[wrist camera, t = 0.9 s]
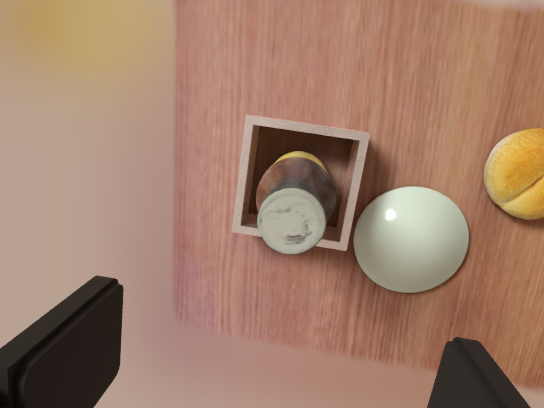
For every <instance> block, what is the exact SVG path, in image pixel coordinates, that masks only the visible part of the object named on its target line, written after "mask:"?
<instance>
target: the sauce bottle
mask: <svg viewBox="0 0 544 408" xmlns="http://www.w3.org/2000/svg"><path fill="white" fill-rule="evenodd" d="M335 203H336V193H335V188H334V185H333V182H332V180H331V178H330V176H329V174H328V172H327V170H326V168H325V167H324V165H323V163H322V162H321V161H320V160H319V159H318V158H317V157H315V156H314V155H312V154H310V153H307V152H303V151H294V152H290V153H287V154H285V155H283V156H282V157H280V158H279V159H278V160H277V161H276V162H275V163H274V164H273V165H272V166H271V167H270V168H269V169H268V170H267V171H266V172H265V174H264V175H263V177H262V179H261V181H260V183H259V185H258V188H257V191H256V206H257V210H258V216H257V226H258V230H259V233H260V235H261V237H262V239H263V240H264V241H265V242H266V244H267V245H268V246H269V247H271V248H272V249H273V250H275V251H278V252H280V253H282V254H289V255H296V254H300V253H304V252H306V251H308V250H310V249H312V248H313V247H315V246H316V245H317V244H318V243H319V241H320V240H321V239H322V237H323V235H324V233H325V230H326V222H327V221H328V220H329V219H330V217H331V215H332V214H333V211H334V208H335Z"/></svg>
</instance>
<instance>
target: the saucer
mask: <svg viewBox="0 0 544 408" xmlns="http://www.w3.org/2000/svg"><path fill="white" fill-rule="evenodd" d="M468 242H469V233H468V227H467V223H466V220H465V218H464V216H463V214H462V212H461V210H460V209H459V208H458V207H457V205H456V204H455V203H454V202H453V201H452V200H450V199H449V198H448V197H446V196H445V195H443V194H441V193H439V192H437V191H435V190H432V189H430V188H426V187H421V186H404V187H398V188H395V189H391V190H389V191H387V192H384V193H383V194H381V195H379V196H378V197H376V198H375V199H374V200H372V201H371V202H370V203H369V204H368V205H367V206H366V207H365V209H364V210H363V211H362V213H361V215H360V216H359V218H358V220H357V223H356V226H355V229H354V235H353V245H354V251H355V255H356V258H357V260H358V263H359V265H360V267H361V268H362V270H363V271H364V272H365V274H366V275H367V276H368V277H369V278H370V279H371V280H372V281H374V282H375V283H377V284H378V285H380V286H382V287H384V288H386V289H389V290H392V291H397V292H404V293H414V292H421V291H425V290H428V289H431V288H434V287H436V286H438V285H440V284H441V283H443V282H444V281H446V280H447V279H448V278H450V277H451V276H452V275H453V274H454V273H455V272H456V271H457V269H458V268H459V266H460V265H461V263H462V262H463V260H464V258H465V255H466V252H467V248H468Z"/></svg>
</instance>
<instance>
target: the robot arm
mask: <svg viewBox="0 0 544 408" xmlns="http://www.w3.org/2000/svg"><path fill="white" fill-rule="evenodd" d="M122 306H123V286H122V285H120V284H118V280H117V279H114V278H108V277H102V276H95V277H93V278H92V279H91V280H90V281H88V282H87V283H86V284H84V285H83V286H81V287H80V288H79V289H78V290H76V291H75V292H74V293H72V294H71V295H70V296H68V297H67V298H66V299H65V300H63V301H62V302H61V303H59V304H58V305H57V306H55V307H54V308H53V309H51V310H50V311H49V312H48V313H46V314H45V315H44V316H42V317H41V318H40V319H39V320H37V321H36V322H34V323H33V324H32V325H30V326H29V327H28V328H27V329H25V330H24V331H23V332H21V333H20V334H19V335H17V336H16V337H15V338H13V339H12V340H11V341H10V342H8V343H7V344H6V345H4V346H3V347H2V348H0V408H93V407H94V406H95V405H96V403H97V402H98V400H99V399H100V398H101V396H102V395H103V394H104V392H105V391H106V390H107V388H108V387H109V385H110V384H111V383H112V381H113V380H114V378H115V377H116V375H117V373H118V370H119V366H120V353H121V331H122V330H121V329H122V309H123V307H122ZM427 408H530V406H529V405H528V404H527V402H526V401H525V400H524V399H523V397H522V396H521V395H520V393H519V392H518V391H517V389H516V388H515V387H514V386H513V384H512V383H511V382H510V380H509V379H508V378H507V377H506V375H505V374H504V373H503V371H502V370H501V369H500V367H499V366H498V365H497V364H496V362H495V361H494V360H493V358H492V357H491V356H490V355H489V353H488V352H487V351H486V349H485V348H484V347H483V345H482V344H481V343H480V342H479V341H476V340H470V339H464V338H459V337H456V338H454V339H453V340H452V342H451V341H448V342H447V343H446V345H445V348H444V352H443V355H442V358H441V362H440V365H439V369H438V372H437V376H436V379H435V383H434V386H433V390H432V393H431V396H430V400H429V403H428V406H427Z"/></svg>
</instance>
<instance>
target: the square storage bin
mask: <svg viewBox="0 0 544 408" xmlns="http://www.w3.org/2000/svg"><path fill="white" fill-rule="evenodd" d="M260 126H266V127H272V128H279V129H286V130H293V131H299V132H306V133H313V134H319V135H326V136H333V137H340V138H346V139H353V143H352V149H351V154H350V159H349V164H348V169H347V174H346V180H345V185H344V190H343V195H342V200H341V206H340V211H339V216H338V221H337V226H336V227H330V226H326V230H325V233H324V235H323V237H322V239H321V240H320V241H319V243H318V244H317V245H316V246H319V247H325V248H331V249H336V250H342V251H347V246H348V241H349V236H350V231H351V226H352V221H353V216H354V211H355V206H356V201H357V197H358V192H359V187H360V182H361V177H362V172H363V167H364V162H365V157H366V152H367V147H368V143H369V138H370V133H368V132H364V131H359V130H352V129H345V128H339V127H332V126H325V125H318V124H311V123H305V122H298V121H291V120H284V119H278V118H271V117H264V116H257V115H246V117H245V126H244V134H243V142H242V150H241V159H240V167H239V175H238V183H237V192H236V200H235V208H234V216H233V225H232V232H235V233H241V234H247V235H253V236H259V237H261V235H260V233H259V230H258V226H257V216H258V215H257V214H251V213H248V212H249V204H250V197H251V189H252V182H253V174H254V166H255V159H256V151H257V143H258V136H259V128H260Z"/></svg>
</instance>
